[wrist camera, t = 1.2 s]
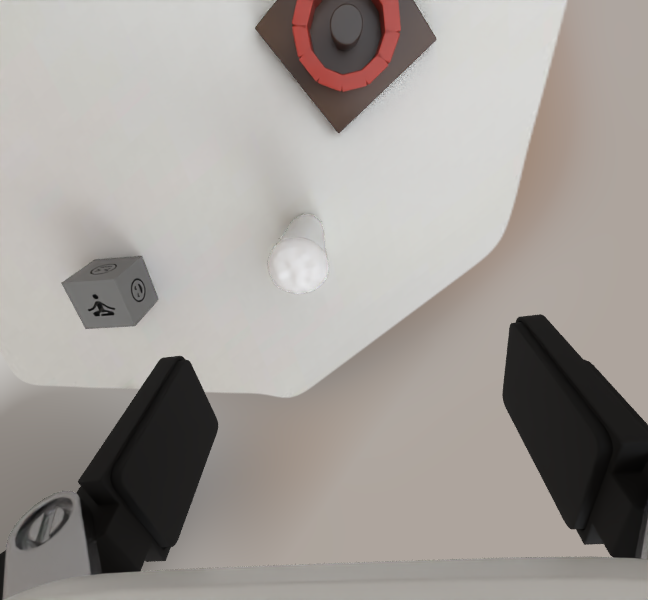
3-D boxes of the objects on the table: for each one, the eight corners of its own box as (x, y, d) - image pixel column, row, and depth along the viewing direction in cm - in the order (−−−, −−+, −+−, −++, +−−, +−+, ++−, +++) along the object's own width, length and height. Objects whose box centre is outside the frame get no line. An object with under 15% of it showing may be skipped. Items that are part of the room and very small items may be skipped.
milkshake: (322, 192, 32) (315, 230, 23) (335, 247, 34) (334, 300, 26) (274, 203, 32) (249, 245, 24) (290, 256, 35) (274, 311, 26)
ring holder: (258, 30, 26) (240, 18, 21) (353, -89, 23) (357, -133, 18) (338, 132, 29) (338, 140, 25) (433, 41, 26) (452, 31, 21)
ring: (276, 29, 25) (270, 23, 23) (352, -62, 22) (353, -78, 20) (340, 111, 27) (340, 113, 25) (414, 37, 25) (421, 33, 23)
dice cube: (114, 302, 38) (85, 328, 34) (94, 259, 36) (61, 283, 32) (158, 299, 38) (135, 326, 34) (141, 256, 36) (114, 279, 31)
